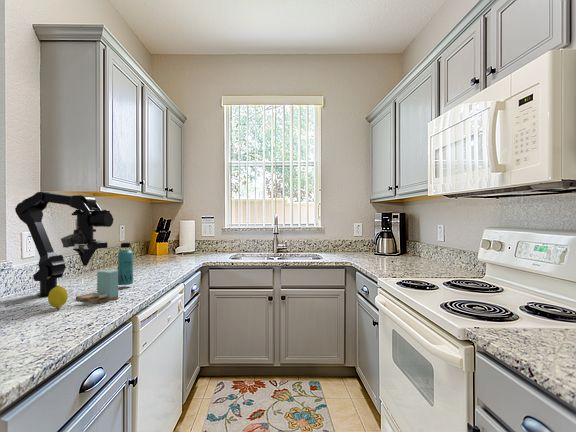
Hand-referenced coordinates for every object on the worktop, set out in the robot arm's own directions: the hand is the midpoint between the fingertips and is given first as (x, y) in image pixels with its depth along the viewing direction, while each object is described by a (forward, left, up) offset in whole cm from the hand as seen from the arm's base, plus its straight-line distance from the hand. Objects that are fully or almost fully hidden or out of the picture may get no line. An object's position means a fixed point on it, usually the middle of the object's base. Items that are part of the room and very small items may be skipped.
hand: (85, 265), depth 132 cm
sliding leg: (+11, +2, -11) cm, 15 cm away
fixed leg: (+14, +4, -11) cm, 18 cm away
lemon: (+14, -12, -12) cm, 22 cm away
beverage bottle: (-5, +17, -12) cm, 22 cm away
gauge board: (+10, +1, -12) cm, 15 cm away
